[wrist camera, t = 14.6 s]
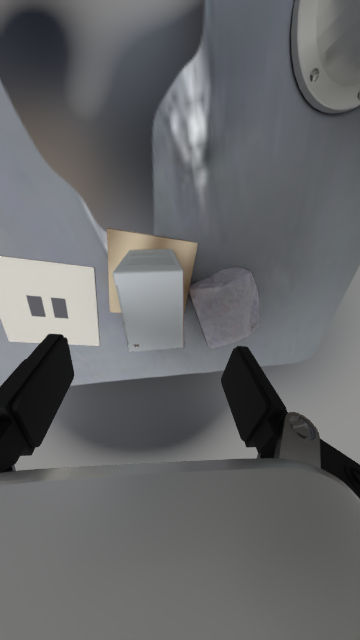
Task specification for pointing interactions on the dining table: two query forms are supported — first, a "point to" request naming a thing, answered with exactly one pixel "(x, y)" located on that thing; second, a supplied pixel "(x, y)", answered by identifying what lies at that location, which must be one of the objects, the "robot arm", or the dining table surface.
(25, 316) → the cream tile
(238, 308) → the stone block
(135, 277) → the small box
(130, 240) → the wooden board
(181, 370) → the dining table surface
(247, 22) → the dining table surface
